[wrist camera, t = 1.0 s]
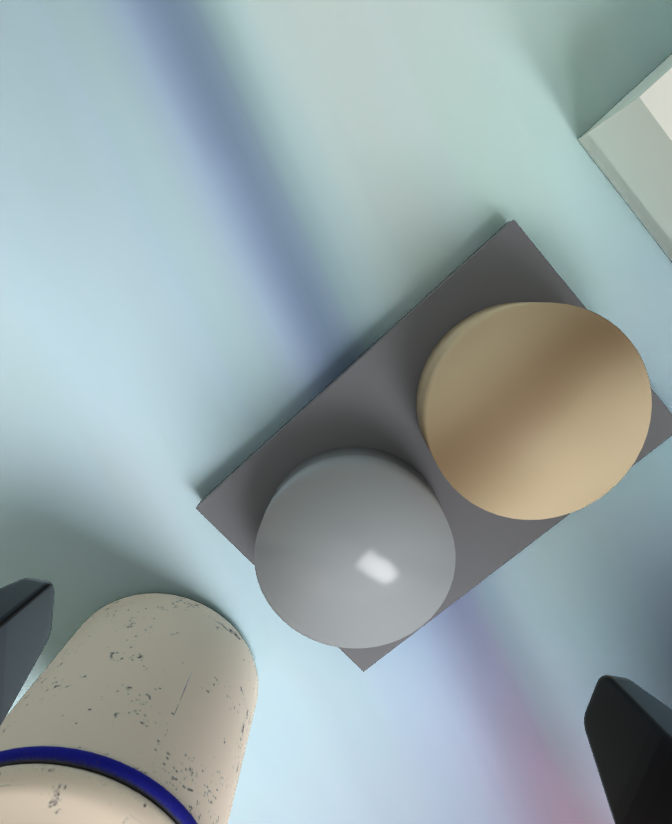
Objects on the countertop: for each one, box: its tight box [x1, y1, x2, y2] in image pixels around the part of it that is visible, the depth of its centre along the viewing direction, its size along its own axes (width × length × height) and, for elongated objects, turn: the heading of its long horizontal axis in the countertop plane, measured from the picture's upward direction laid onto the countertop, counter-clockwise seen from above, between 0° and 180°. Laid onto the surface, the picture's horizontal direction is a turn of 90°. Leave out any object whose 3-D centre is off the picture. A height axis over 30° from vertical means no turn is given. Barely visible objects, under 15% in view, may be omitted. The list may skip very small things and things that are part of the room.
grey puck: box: [254, 447, 456, 648], centre depth 20 cm, size 7×7×2 cm
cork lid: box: [417, 302, 652, 520], centre depth 18 cm, size 7×7×3 cm
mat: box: [196, 220, 672, 672], centre depth 20 cm, size 10×16×1 cm, turn 133°
